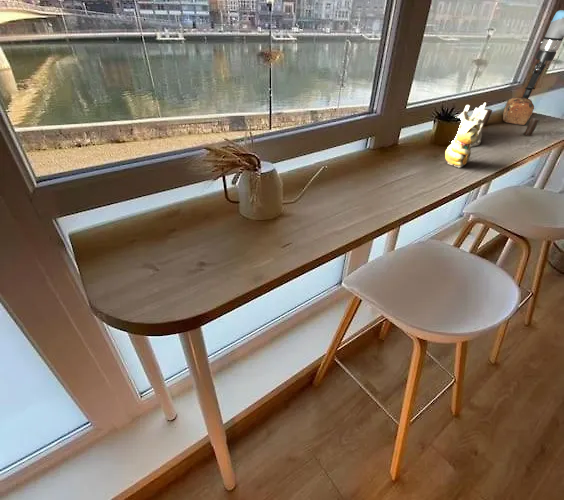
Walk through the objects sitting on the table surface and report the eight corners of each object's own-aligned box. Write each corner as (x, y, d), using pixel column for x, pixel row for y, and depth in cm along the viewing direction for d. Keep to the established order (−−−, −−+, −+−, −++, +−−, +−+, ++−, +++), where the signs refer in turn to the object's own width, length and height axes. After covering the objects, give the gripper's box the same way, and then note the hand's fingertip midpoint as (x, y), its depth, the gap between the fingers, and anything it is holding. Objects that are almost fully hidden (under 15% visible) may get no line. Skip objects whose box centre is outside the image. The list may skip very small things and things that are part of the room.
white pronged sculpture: (450, 129, 147) (463, 94, 137) (486, 141, 138) (503, 105, 128) (432, 139, 139) (444, 102, 129) (469, 152, 130) (485, 114, 120)
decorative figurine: (462, 171, 113) (480, 127, 103) (438, 164, 116) (453, 121, 107) (469, 162, 119) (486, 120, 109) (445, 156, 122) (460, 115, 113)
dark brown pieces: (531, 134, 146) (540, 118, 142) (530, 136, 144) (539, 120, 140) (479, 123, 157) (486, 108, 152) (478, 125, 155) (484, 109, 151)
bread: (525, 126, 156) (536, 104, 150) (501, 122, 160) (510, 100, 154) (524, 116, 169) (534, 96, 163) (501, 113, 173) (510, 93, 166)
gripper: (540, 48, 161) (517, 99, 175) (536, 50, 153) (512, 103, 167) (558, 50, 157) (533, 101, 172) (555, 52, 149) (529, 106, 164)
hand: (523, 102), depth 170 cm, fingers closed
